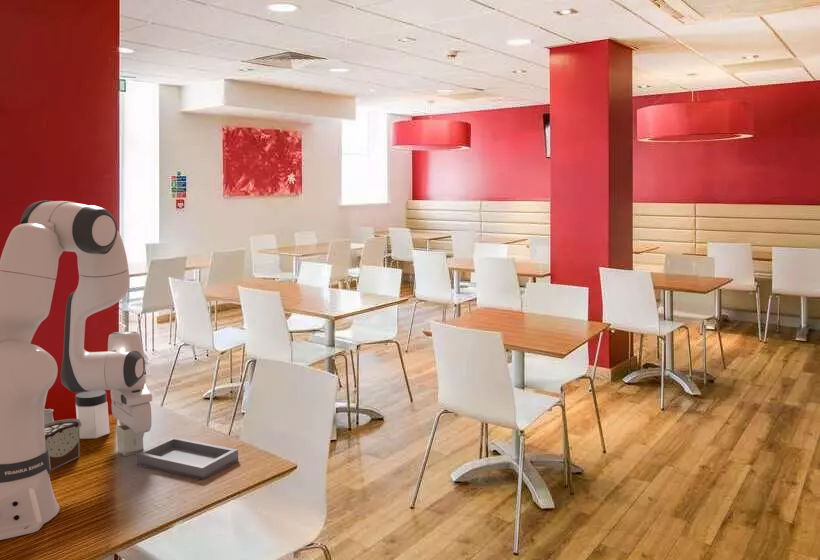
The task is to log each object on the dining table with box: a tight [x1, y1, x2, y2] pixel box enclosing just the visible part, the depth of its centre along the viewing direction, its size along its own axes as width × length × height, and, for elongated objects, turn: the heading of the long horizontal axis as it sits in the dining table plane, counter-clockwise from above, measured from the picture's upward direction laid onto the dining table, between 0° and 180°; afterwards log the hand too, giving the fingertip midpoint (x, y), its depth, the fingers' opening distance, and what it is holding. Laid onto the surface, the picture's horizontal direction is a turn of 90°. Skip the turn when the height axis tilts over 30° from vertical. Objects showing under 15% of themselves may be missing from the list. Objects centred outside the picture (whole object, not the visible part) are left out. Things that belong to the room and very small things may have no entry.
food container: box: [44, 418, 81, 472], centre depth 179 cm, size 12×6×10 cm, turn 161°
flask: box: [44, 408, 55, 425], centre depth 191 cm, size 7×7×10 cm
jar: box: [74, 390, 110, 440], centre depth 199 cm, size 9×8×12 cm
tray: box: [135, 436, 239, 481], centre depth 178 cm, size 13×22×3 cm, turn 64°
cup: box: [115, 424, 145, 457], centre depth 186 cm, size 5×5×8 cm
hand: (132, 440), depth 186 cm, fingers open, 8 cm apart
